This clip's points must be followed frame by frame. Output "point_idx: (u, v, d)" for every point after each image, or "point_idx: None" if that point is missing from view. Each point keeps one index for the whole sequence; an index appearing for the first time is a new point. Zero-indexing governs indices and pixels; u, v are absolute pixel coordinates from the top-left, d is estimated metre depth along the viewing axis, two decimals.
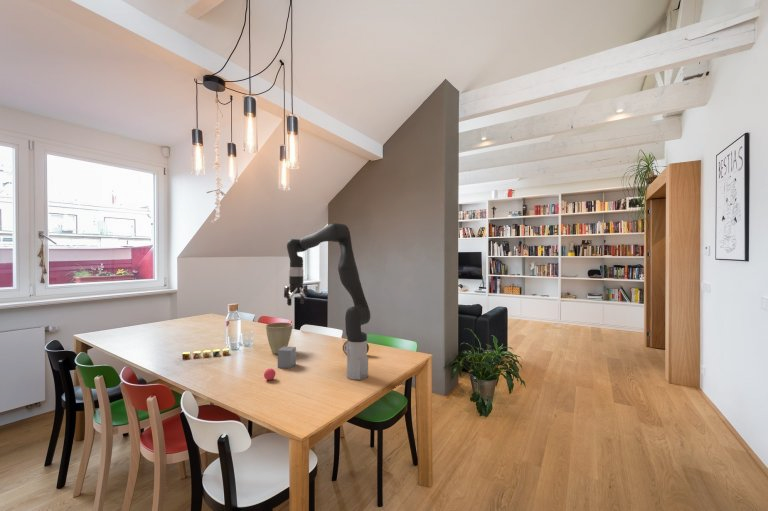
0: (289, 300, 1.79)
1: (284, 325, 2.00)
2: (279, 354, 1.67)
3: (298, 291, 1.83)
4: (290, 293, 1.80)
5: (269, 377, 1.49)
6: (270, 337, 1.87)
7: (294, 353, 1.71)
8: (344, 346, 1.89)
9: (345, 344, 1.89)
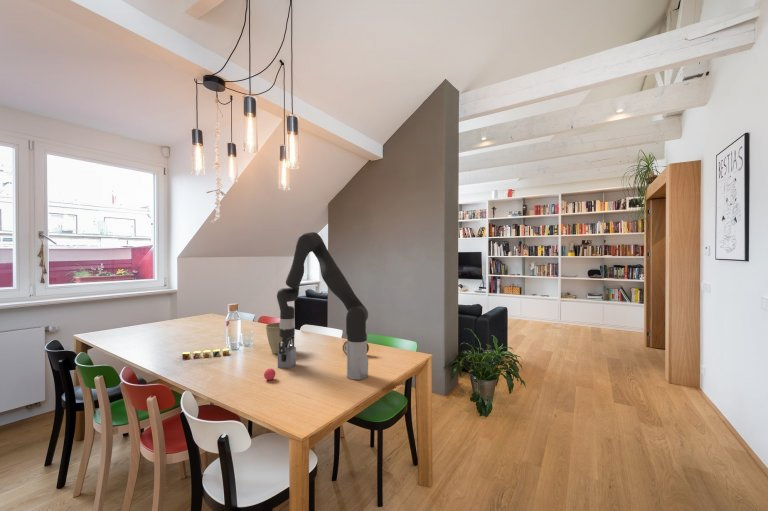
0: None
1: None
2: (279, 354, 1.67)
3: None
4: (289, 344, 1.74)
5: (269, 377, 1.49)
6: (270, 337, 1.87)
7: (294, 353, 1.71)
8: (344, 346, 1.89)
9: (345, 344, 1.89)
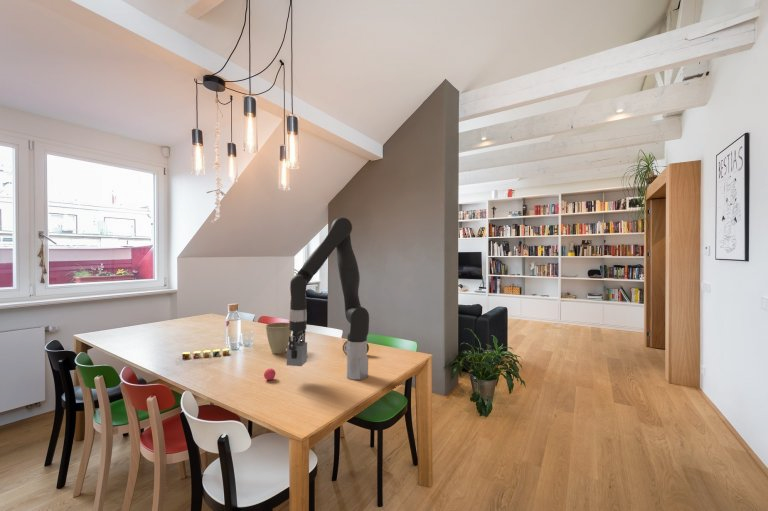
0: None
1: (284, 325, 2.00)
2: (288, 350, 1.46)
3: None
4: (300, 339, 1.53)
5: (269, 377, 1.49)
6: (270, 337, 1.87)
7: (305, 349, 1.50)
8: (344, 346, 1.89)
9: (345, 344, 1.89)
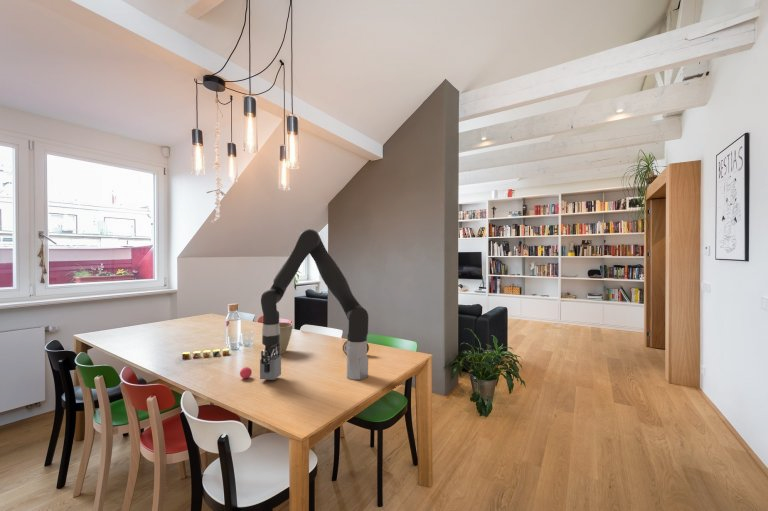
0: None
1: (284, 325, 2.00)
2: (262, 364, 1.48)
3: None
4: None
5: (241, 376, 1.51)
6: None
7: (278, 362, 1.52)
8: (344, 346, 1.89)
9: (345, 344, 1.89)
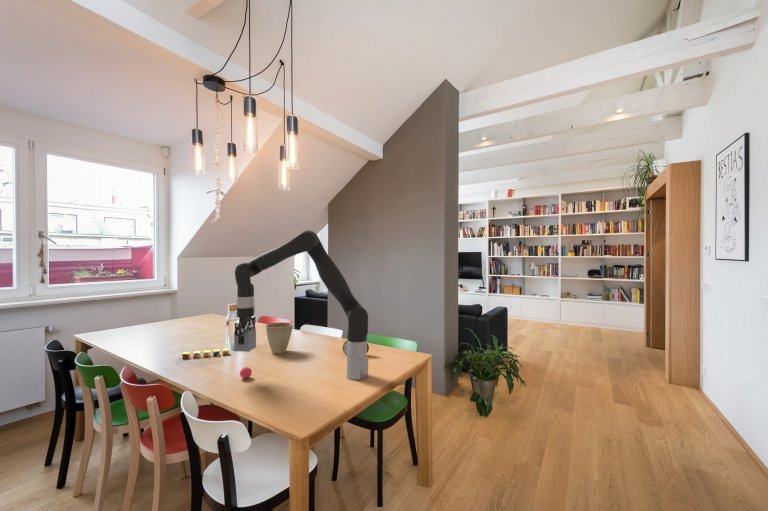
0: None
1: (284, 325, 2.00)
2: (236, 336, 1.50)
3: None
4: None
5: (241, 376, 1.51)
6: (270, 337, 1.87)
7: (253, 335, 1.53)
8: (344, 346, 1.89)
9: (345, 344, 1.89)
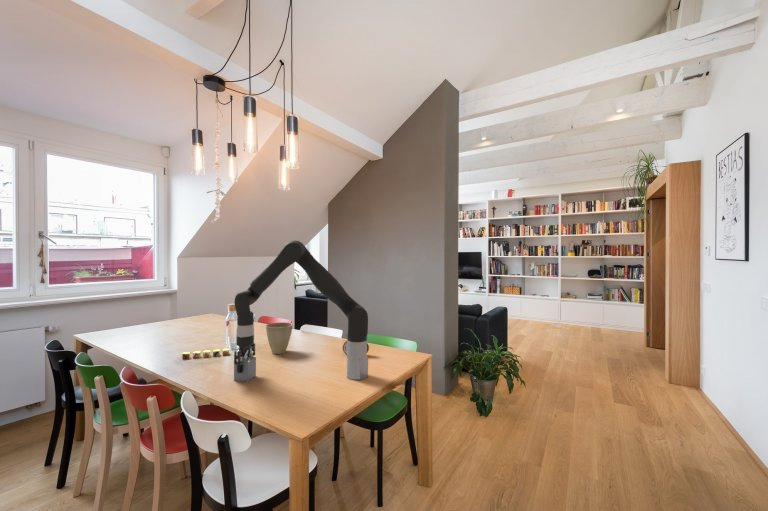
0: None
1: (284, 325, 2.00)
2: (236, 365, 1.50)
3: None
4: None
5: None
6: (270, 337, 1.87)
7: (253, 364, 1.53)
8: (344, 346, 1.89)
9: (345, 344, 1.89)
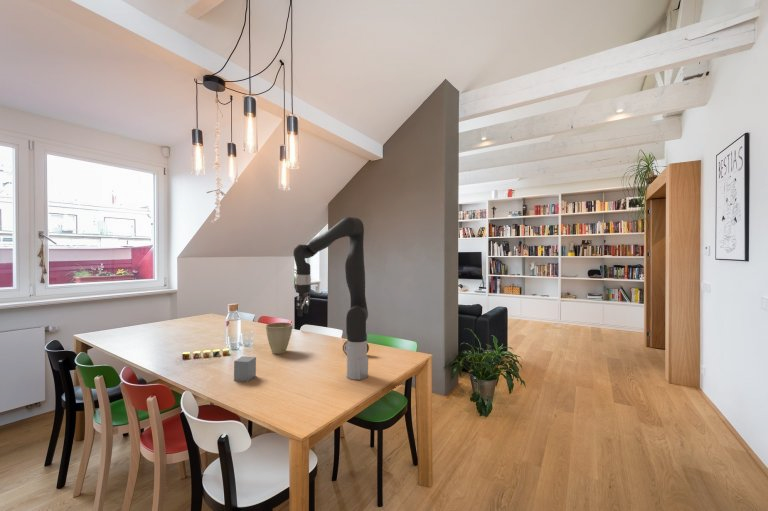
0: None
1: (284, 325, 2.00)
2: (236, 365, 1.50)
3: None
4: (305, 301, 1.75)
5: None
6: (270, 337, 1.87)
7: (253, 364, 1.53)
8: (344, 346, 1.89)
9: (345, 344, 1.89)
